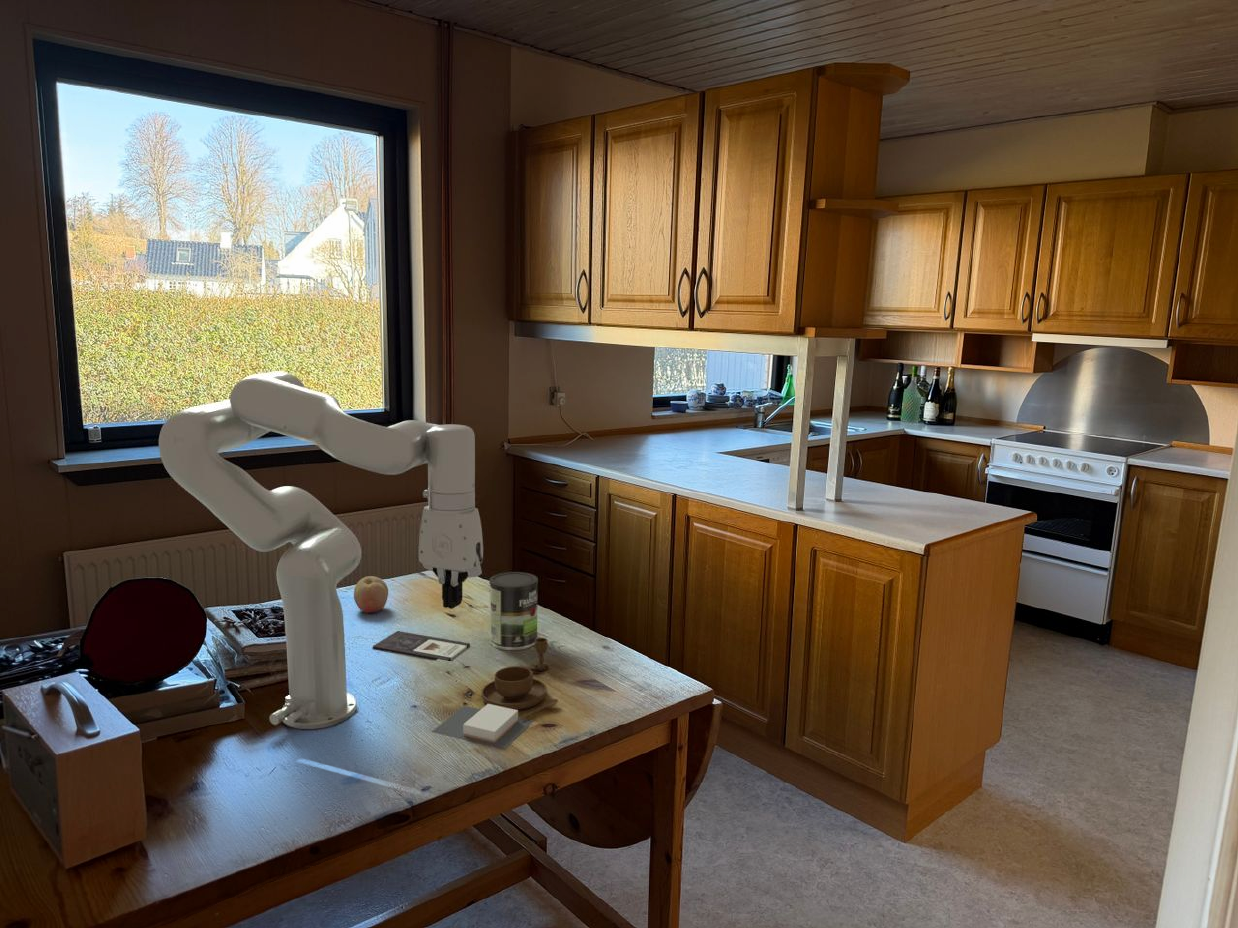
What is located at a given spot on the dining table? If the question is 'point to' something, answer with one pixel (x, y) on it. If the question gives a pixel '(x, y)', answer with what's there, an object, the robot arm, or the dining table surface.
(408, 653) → the chocolate bar
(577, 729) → the dining table surface
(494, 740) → the tile
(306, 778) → the dining table surface
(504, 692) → the place setting
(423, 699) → the dining table surface
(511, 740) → the mat
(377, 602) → the fruit
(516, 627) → the coffee can
